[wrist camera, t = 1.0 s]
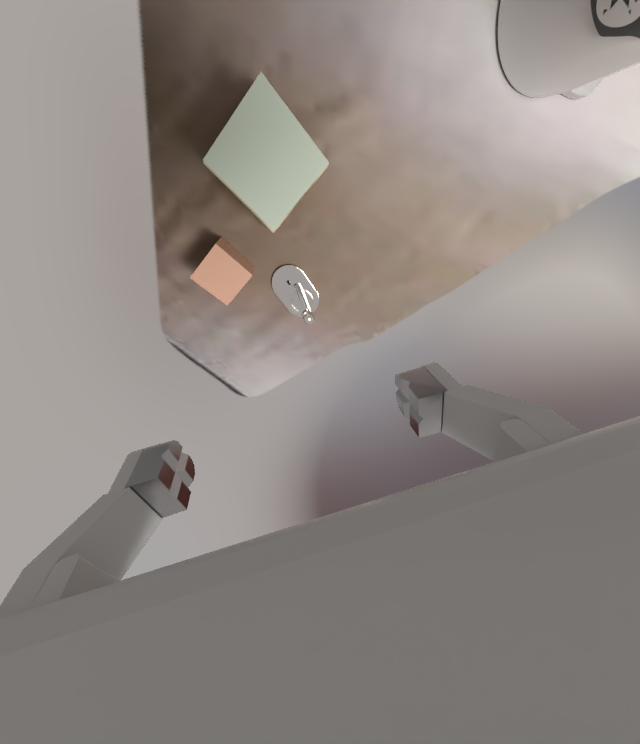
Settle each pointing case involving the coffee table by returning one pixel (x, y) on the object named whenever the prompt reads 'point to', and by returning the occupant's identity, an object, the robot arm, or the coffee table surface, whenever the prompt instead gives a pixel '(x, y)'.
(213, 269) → the terracotta block
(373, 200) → the coffee table surface
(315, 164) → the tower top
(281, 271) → the stand
